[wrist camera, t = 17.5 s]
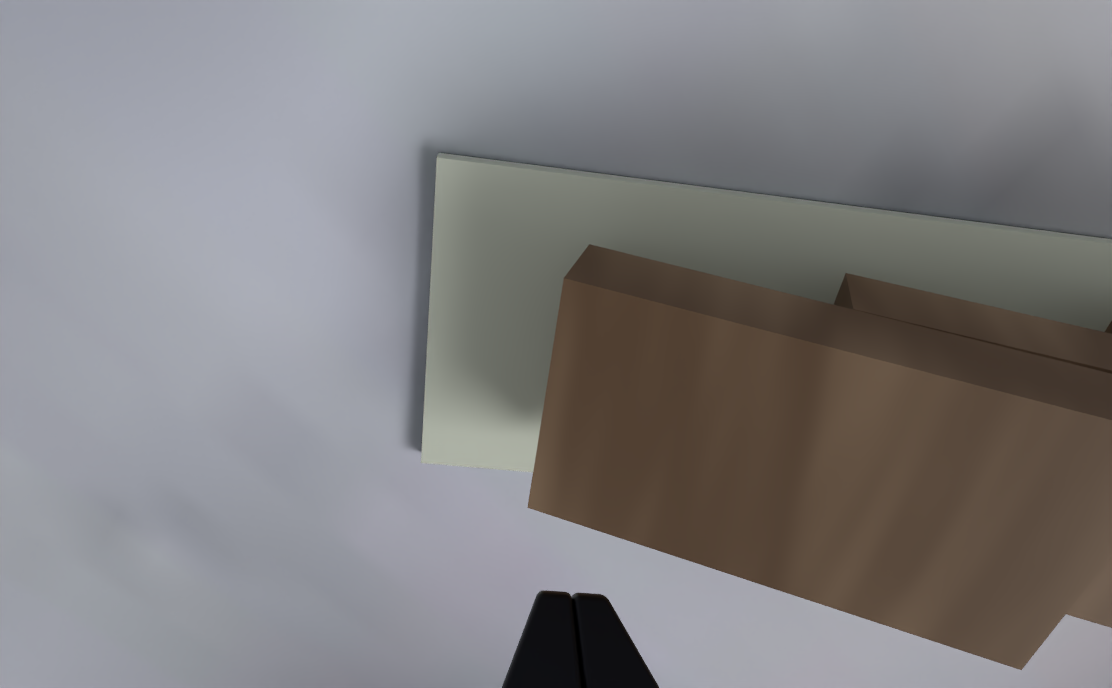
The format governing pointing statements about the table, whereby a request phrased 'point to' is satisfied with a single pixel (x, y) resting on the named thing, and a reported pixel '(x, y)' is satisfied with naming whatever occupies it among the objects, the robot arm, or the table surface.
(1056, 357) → the walnut domino
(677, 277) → the walnut domino
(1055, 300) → the domino mat
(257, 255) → the table surface
